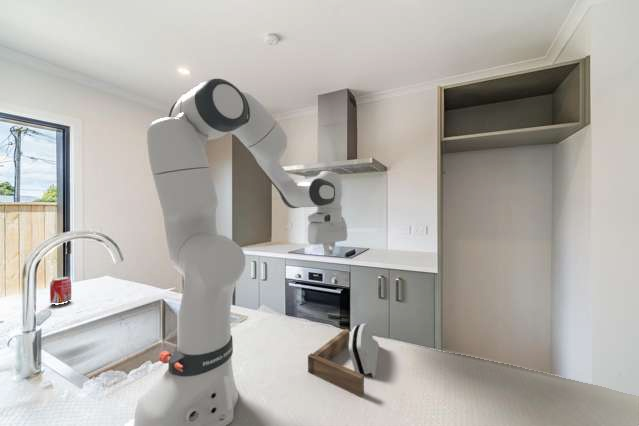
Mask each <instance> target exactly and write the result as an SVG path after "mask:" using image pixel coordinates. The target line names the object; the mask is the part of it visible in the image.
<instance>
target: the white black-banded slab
mask: <svg viewBox="0 0 639 426" xmlns="http://www.w3.org/2000/svg"><path fill="white" fill-rule="evenodd" d="M348 352H349V355H350V359H351V362H352V367H353V369H354V370H353V371H355V372H358V373H360V374H362V373H364V375H368V374H371V376H372V378H373V379H375V378H376V375H377V367H378V359H379V353H380V345H379V341H378V340H376V339H374V338H373V334H372V332H371V329H370V327H369V324H368V323H361V324H356V325H355V326H353V328H352V329H351V331H350V338H349V345H348Z"/></svg>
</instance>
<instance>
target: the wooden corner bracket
mask: <svg viewBox="0 0 639 426" xmlns="http://www.w3.org/2000/svg"><path fill="white" fill-rule="evenodd" d="M350 334H351V331H350V329H347V328H345V329H343V330H342V331H340V333H338V334H337V335H336V336H334V337H332V339H330V340H329V341H328V342H326V343H325V344H324V345H322V346H321V347H320V348H318V349H317V350H315V351H314V352H313V353H310V354H308V355H307V373H309V374H311V375H314V376H315V377H317V378H319V379H322V380H324V381H325V382H328V383H330V384H332V385H334V386H336V387H338V388H340V389H343V390H345V391H347V392H349V393H351V394H353V395H356V396H358V397H360V398H362V397H363V395H364V394H365V374H362V373H361V374H360V373H358V372H355V370H352V369H351V368H348V367H346V366H343V365H341V364H339V363H336V362H334V361H332V360H333V359H334V358H335V357H336V356H337V355H338V354H339V353H341V352H342V351H343V350H344V349H346V348H347V346H348V347H349V338H350Z"/></svg>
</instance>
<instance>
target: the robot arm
mask: <svg viewBox="0 0 639 426" xmlns="http://www.w3.org/2000/svg"><path fill="white" fill-rule="evenodd" d="M228 133H231V134H232V135H234V136H235V137H237V139H238V140H239V141H240V142H241V143H242V144H243V145H244V146H245V147H246V149H247V150H248V151H249V152H250V153H251V154H252V155H253V157H254V159H255V163H256V165H257V166H258V168H259V169H260V171H262V173H263V174H264V175H265V177H266V178H267V179H268V180H269V182H270V183H271V184H272V185H273V186H274V187H275V189H276V191H278V193H279V196H280V198H281V200H282V202H283V204H284V205H285V206H286V207H288V208H289V209H299V208H316V209H317V211H315V212H314V213H312V214H310V215H308V216H307V221H308V222H309V223H308V225H307V241H308V243H309V245H316V246H318V245H322V247H323V250H324V255H325V256H327V257H328V256H333V255H334V249H335V246H336V243H337V242H344V241H347V239H348V229H347V228H348V227H347V226H348V225H347V222H346V219H345V218H344V217H343V216H342V215H343V213H342V211H343V209H342V208H343V207H342V204H341V202H342V197H343V187H342V186H343V185H342V179H341V175H340V174H339V173H338V172H337V171H333V170H323V171H320V172H319V174H318V175H316V176H313V177H310V178H305V179H296V178H292V177H290V175H289V174H288V173H287V171H286V170H285V168H284V167H283V166H282V163H280V160H281V158H282V156H283V155H284V154H285V152H286V150H287V146H288V136H287V134H286V132H285V130H284V129H283V127H282V125H280V123H279V122H278V121H277V120H276V118H274V116H273V115H272V114H271V113H270V111H268V109H267V108H266V107H265V106H264V105H263V104H262V103H260V101H258V100H257V99H256V97H254V96H253V95H252V94H250V93H248V92H244V91H243V92H242V91H241V90H240V89H239V88H238V87H237V86H235V84H233V83H232V82H229V81H228V80H225V79H222V78H211V79H207V80H205V81H202V82H201V83H200V84H199V85H198V86H196V87H194V88H192V89H190V90H188V91H187V92H185V93H184V94H183V95H182V96H181V97H180V98H179V99H178V100H177V101H175V102H174V104H172V106H171V108H170V111H169V113H168V117H164V118H163V117H162V118H159V119H157V120H155V121H153V122H152V123H150V125H149V126H148V127H147V131H146V143H147V145H146V146H147V154H148V160H149V165H150V169H151V174H152V177H153V180H154V181H153V182H154V185H155V189H156V192H157V196H158V201H159V202H160V208H161V211H162V216H163V222H164V229H165V238H166V242H167V249H168V254H169V260H170V262H171V265H172V267H173V268H174V270H175V271H177V272H178V273H179V274H180V275H182V278H183V289H182V290H183V291H182V296H181V300H180V305H179V307H178V309H177V314H176V315H177V316H176V319H177V320H176V322H177V323H176V324H177V326H176V327H177V330H176V332H177V333H176V334H177V339H176V342H177V344H176V347H175V348H174V351H173V353H170V352H169V351H168V350H163V351H161V352H160V353H159V355H158V361H160V362H161V363H162V364H163V365H164V364H165V365H166V364H168V367H167V368H166V369H165V370H164V371H163V372H162V374H161V375H160V376H159V377H158V378H157V379H156V380H155V381H154V382H153V383H152V384H151V385H150V387H148V389H146V391H145V392H144V393H143V394H142V395H141V396H140V397H139V400H138V401H137V403H136V404H137V405H136V407H135V412H134V417H133V418H131V419H130V420H129V421H127V422H126V423H125V424H123V426H227V425H229V424H231V423H232V422H233V421H234V415H235V414H234V412H235V411H234V410H235V407H236V405H237V403H238V400H239V390H238V389H237V385H236V382H235V377H234V372H233V371H234V370H233V361H232V356H233V352H234V349H233V348H234V343H233V335H232V334H231V331H232V330H231V326H232V325H231V323H232V322H231V321H232V320H231V317H232V315H231V314H232V313H231V312H232V311H231V310H232V309H231V307H232V302H233V296H234V292H235V286H236V284H237V282H238V281H239V280H240V278H241V276H242V275H243V273H244V271H245V268H246V262H247V261H246V255H245V252H244V251H243V248H242V247H241V246H240V245H239V244H237V242H235V241H234V240H232V239H231V238H230V237H227V236H225V235H222V234H218V232H217V219H216V217H217V216H216V215H217V208H218V203H219V201H218V197H217V191H216V187H215V183H214V179H213V175H212V171H211V167H210V163H209V159H208V156H207V144H208V143H207V142H208V141H210V140H216V139H220V138H222V137H223V136H225V135H226V134H228Z"/></svg>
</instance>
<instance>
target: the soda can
mask: <svg viewBox="0 0 639 426" xmlns="http://www.w3.org/2000/svg"><path fill="white" fill-rule="evenodd" d="M49 299H50V300H49V301H50V302H49V303H50V304H51V303H62V302H66V301H69V300H72V280H71V278H70V277H69V276H61V277H54V278H51V281H50V284H49ZM69 302H70V301H69Z"/></svg>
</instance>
